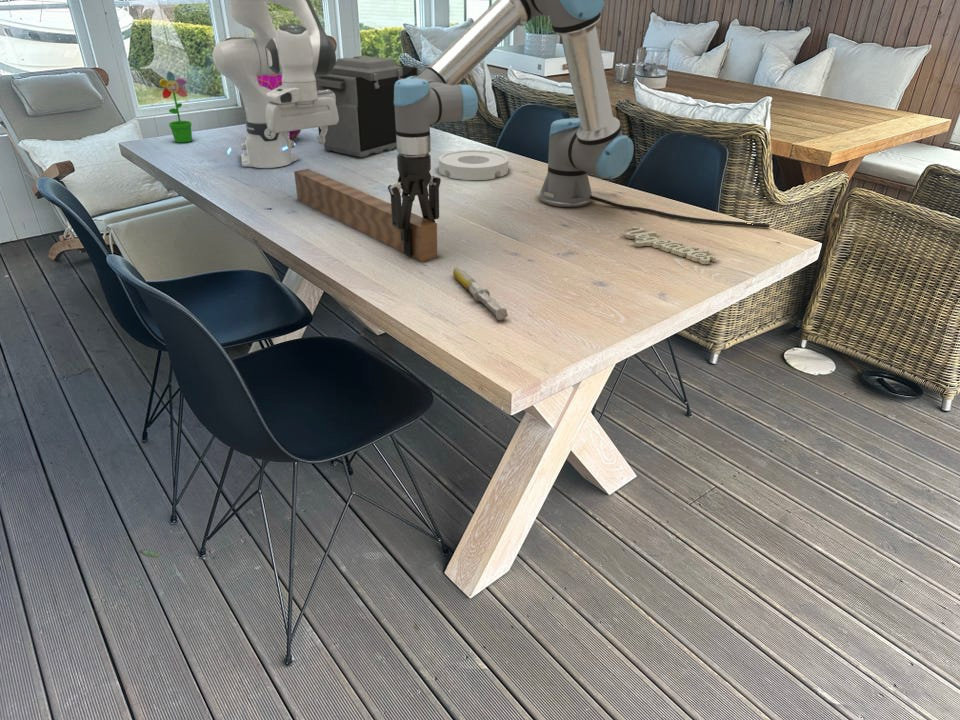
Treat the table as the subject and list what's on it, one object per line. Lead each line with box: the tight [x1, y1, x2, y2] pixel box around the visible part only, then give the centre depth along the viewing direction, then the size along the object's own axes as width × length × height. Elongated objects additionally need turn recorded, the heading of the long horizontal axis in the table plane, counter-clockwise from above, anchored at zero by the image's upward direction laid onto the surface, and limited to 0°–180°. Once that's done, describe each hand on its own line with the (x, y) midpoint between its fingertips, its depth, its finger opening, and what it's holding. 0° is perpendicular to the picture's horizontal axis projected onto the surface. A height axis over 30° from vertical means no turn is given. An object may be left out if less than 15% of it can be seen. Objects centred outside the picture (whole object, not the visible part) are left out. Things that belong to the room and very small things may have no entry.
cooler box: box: [314, 55, 419, 159], centre depth 250 cm, size 37×22×30 cm, turn 144°
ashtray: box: [438, 149, 509, 181], centre depth 229 cm, size 23×23×4 cm
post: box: [293, 168, 439, 263], centre depth 180 cm, size 61×5×8 cm, turn 41°
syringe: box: [452, 266, 509, 321], centre depth 145 cm, size 25×4×3 cm, turn 21°
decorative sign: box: [624, 226, 717, 265], centre depth 170 cm, size 26×1×10 cm
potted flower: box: [158, 70, 193, 144], centre depth 255 cm, size 9×8×25 cm
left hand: (306, 145), depth 190 cm, fingers open, 8 cm apart
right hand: (417, 251), depth 165 cm, fingers closed on post, 5 cm apart
